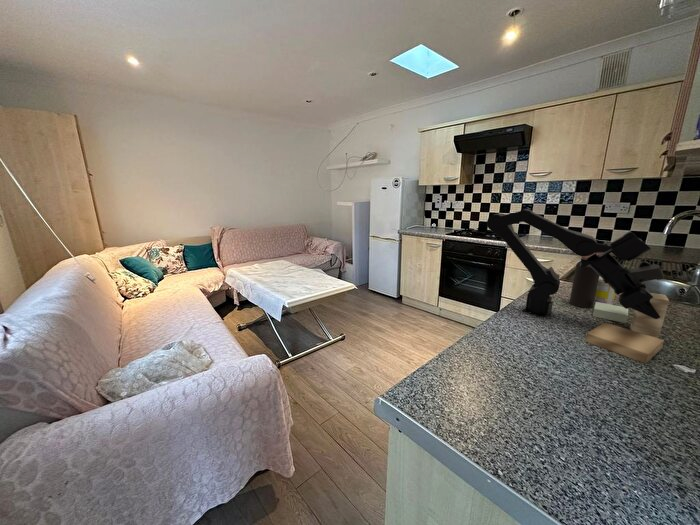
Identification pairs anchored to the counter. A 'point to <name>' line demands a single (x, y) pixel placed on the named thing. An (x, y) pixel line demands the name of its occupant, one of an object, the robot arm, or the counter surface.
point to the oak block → (625, 342)
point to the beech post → (647, 323)
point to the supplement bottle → (604, 293)
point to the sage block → (610, 312)
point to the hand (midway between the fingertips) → (656, 314)
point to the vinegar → (584, 286)
